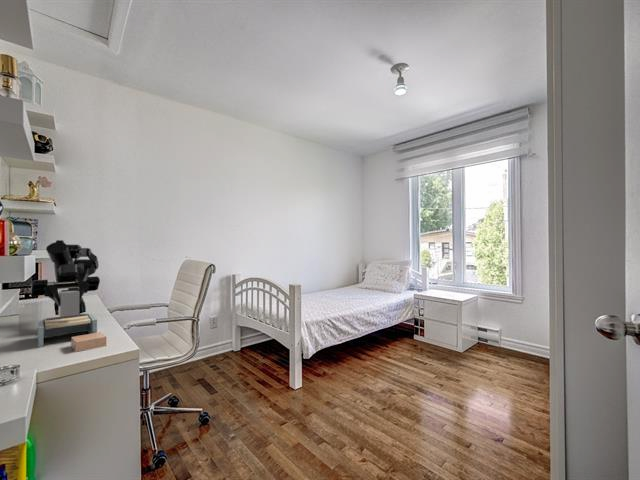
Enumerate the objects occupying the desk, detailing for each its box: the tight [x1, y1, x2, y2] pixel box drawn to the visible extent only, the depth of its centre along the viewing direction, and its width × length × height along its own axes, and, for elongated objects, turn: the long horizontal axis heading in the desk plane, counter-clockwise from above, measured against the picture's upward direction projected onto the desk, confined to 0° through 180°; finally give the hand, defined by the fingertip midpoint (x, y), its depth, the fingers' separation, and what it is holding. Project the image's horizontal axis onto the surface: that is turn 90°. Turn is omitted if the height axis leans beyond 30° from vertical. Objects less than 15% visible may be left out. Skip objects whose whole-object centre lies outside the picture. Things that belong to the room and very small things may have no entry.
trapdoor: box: [44, 313, 91, 329], centre depth 107 cm, size 12×12×2 cm
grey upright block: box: [57, 290, 80, 317], centre depth 105 cm, size 5×5×8 cm
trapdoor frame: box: [37, 312, 98, 349], centre depth 107 cm, size 15×15×6 cm
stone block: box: [70, 331, 107, 353], centre depth 99 cm, size 8×8×3 cm
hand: (69, 304), depth 104 cm, fingers closed on grey upright block, 5 cm apart
